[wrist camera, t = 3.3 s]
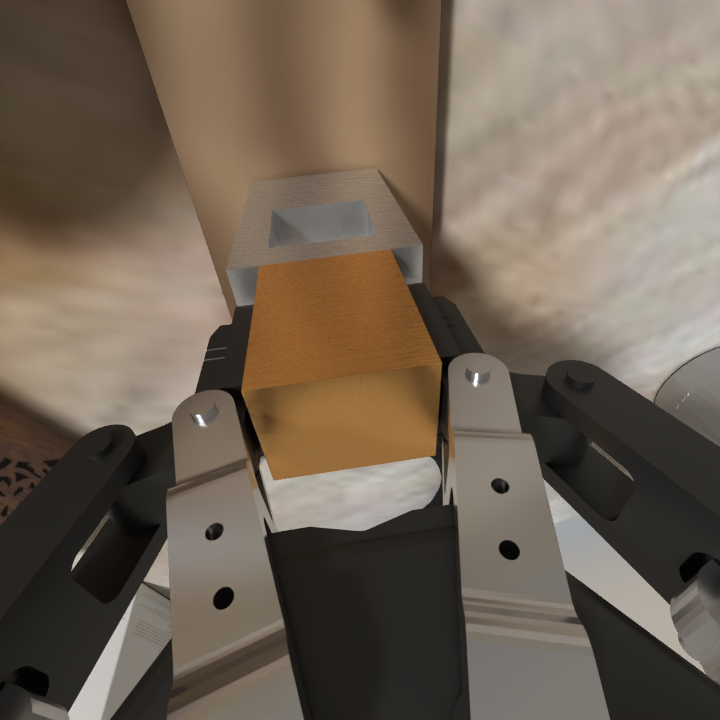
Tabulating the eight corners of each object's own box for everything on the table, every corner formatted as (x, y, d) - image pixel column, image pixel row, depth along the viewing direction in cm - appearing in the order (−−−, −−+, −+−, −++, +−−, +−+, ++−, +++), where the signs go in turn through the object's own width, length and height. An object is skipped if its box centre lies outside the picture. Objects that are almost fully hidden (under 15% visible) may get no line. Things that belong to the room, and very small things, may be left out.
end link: (375, 167, 19) (490, 356, 8) (383, 326, 25) (455, 563, 14) (250, 182, 19) (189, 398, 8) (287, 339, 25) (283, 591, 14)
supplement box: (66, 597, 46) (-11, 789, 34) (140, 578, 45) (88, 767, 34) (116, 623, 51) (65, 794, 40) (182, 607, 51) (150, 775, 39)
